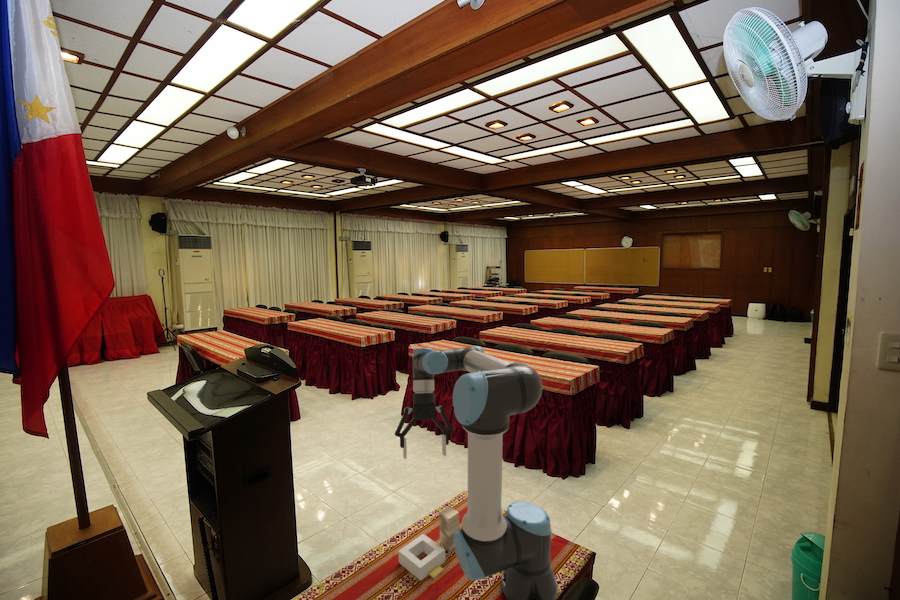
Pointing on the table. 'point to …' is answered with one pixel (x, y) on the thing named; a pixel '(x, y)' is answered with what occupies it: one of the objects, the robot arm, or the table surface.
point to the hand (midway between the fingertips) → (424, 456)
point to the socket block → (426, 565)
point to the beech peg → (448, 527)
